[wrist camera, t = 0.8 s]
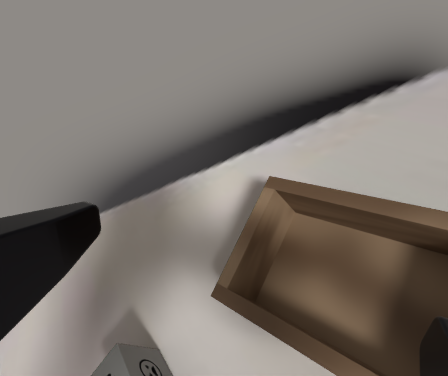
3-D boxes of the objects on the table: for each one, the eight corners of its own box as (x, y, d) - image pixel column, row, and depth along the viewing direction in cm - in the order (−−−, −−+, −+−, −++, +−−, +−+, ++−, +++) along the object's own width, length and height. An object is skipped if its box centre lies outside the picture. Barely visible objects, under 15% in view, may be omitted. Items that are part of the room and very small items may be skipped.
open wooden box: (476, 450, 15) (481, 466, 12) (245, 309, 25) (210, 296, 22) (522, 263, 17) (537, 230, 14) (293, 203, 28) (269, 176, 24)
